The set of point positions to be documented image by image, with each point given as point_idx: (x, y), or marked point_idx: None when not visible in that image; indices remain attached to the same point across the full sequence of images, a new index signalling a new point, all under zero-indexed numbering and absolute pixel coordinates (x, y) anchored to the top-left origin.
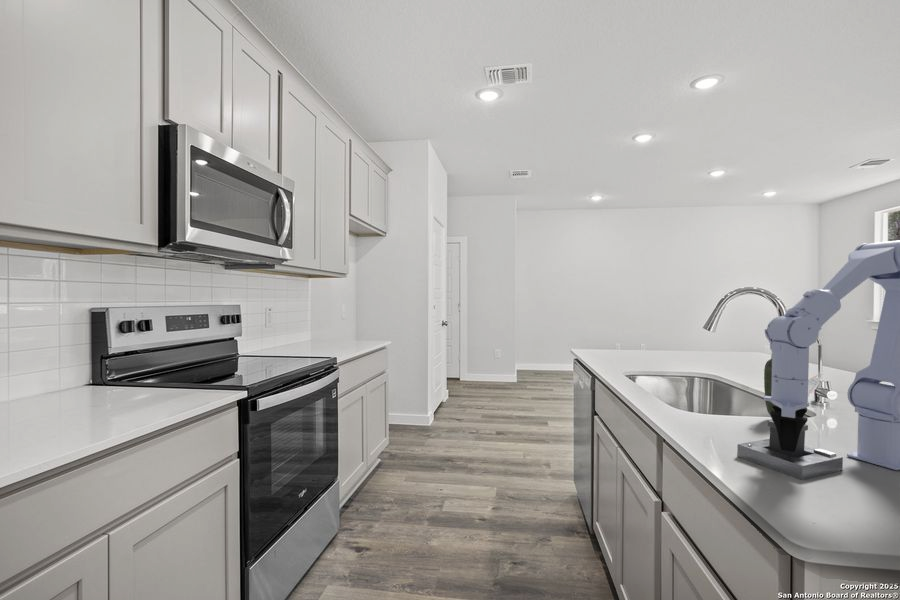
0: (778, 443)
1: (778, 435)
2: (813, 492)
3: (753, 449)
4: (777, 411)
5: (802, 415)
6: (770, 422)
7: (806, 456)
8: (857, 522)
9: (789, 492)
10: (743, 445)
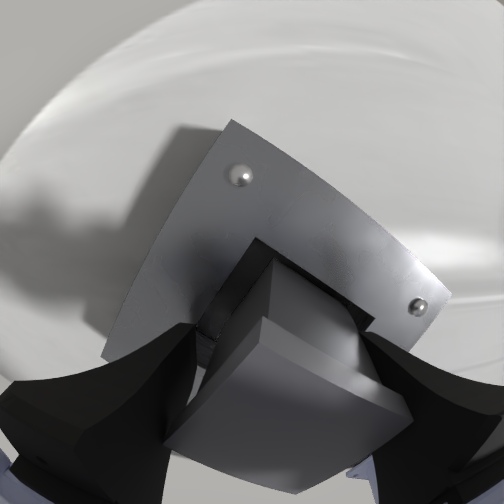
0: (241, 322)
1: (133, 351)
2: (60, 337)
3: (183, 196)
4: (452, 420)
5: (383, 500)
6: (243, 357)
7: None
8: (11, 361)
9: (26, 287)
10: (225, 146)
